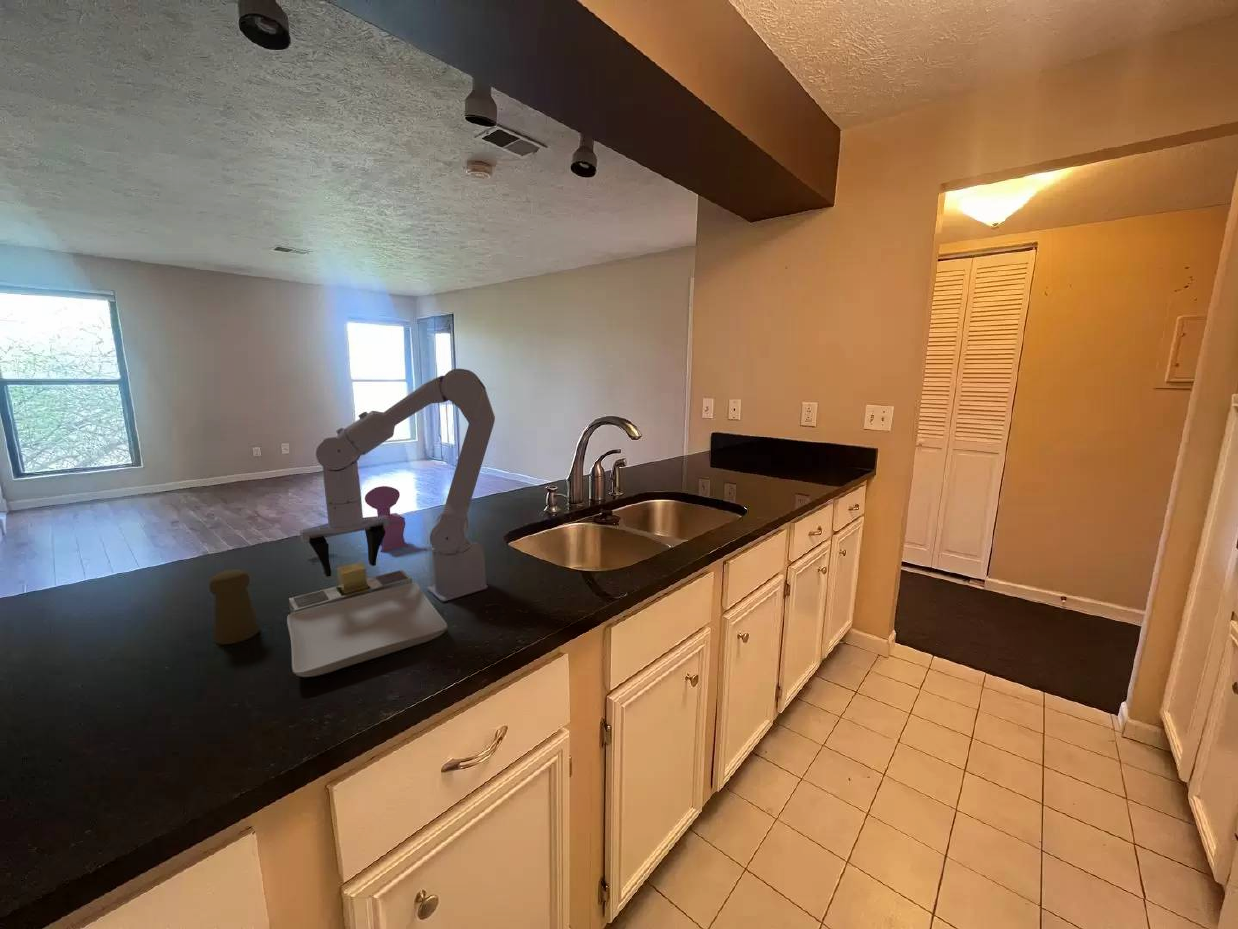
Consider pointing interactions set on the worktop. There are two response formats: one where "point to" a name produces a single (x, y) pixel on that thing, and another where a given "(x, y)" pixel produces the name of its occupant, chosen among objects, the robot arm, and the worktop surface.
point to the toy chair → (388, 515)
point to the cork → (233, 607)
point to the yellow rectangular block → (352, 579)
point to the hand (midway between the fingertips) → (350, 569)
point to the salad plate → (361, 629)
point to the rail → (334, 595)
